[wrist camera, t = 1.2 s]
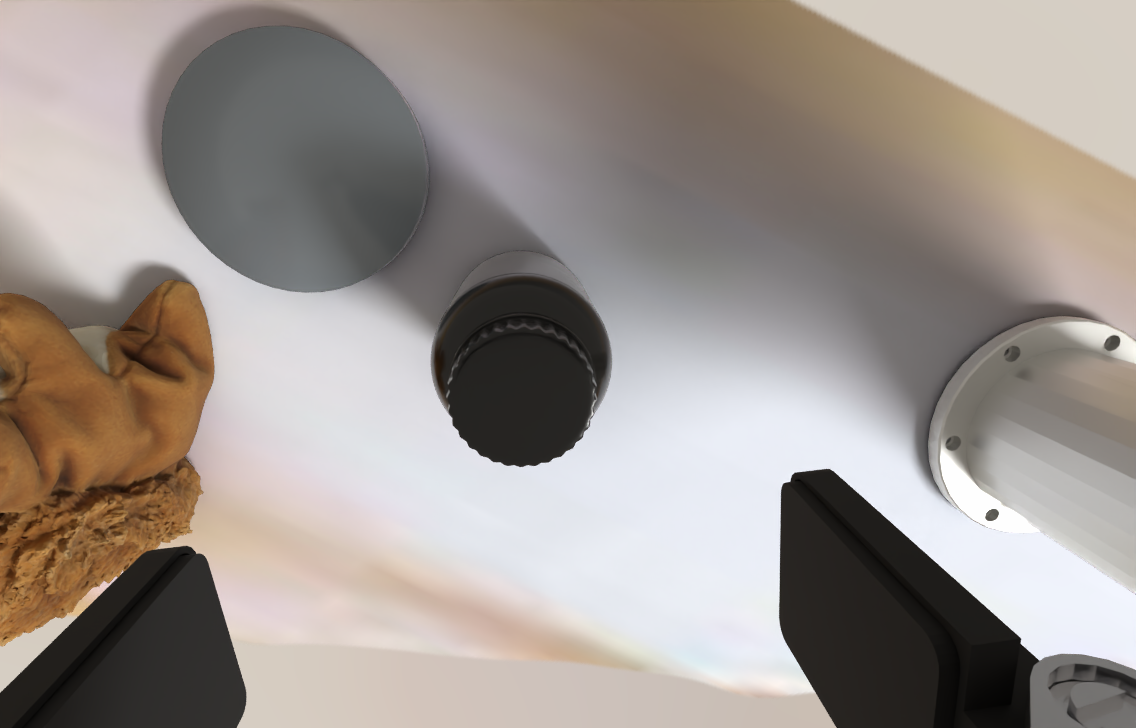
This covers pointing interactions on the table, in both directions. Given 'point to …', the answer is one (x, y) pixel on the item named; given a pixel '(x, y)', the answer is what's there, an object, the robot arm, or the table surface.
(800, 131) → the table surface
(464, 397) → the supplement bottle
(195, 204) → the slate plate
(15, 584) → the stuffed squirrel
